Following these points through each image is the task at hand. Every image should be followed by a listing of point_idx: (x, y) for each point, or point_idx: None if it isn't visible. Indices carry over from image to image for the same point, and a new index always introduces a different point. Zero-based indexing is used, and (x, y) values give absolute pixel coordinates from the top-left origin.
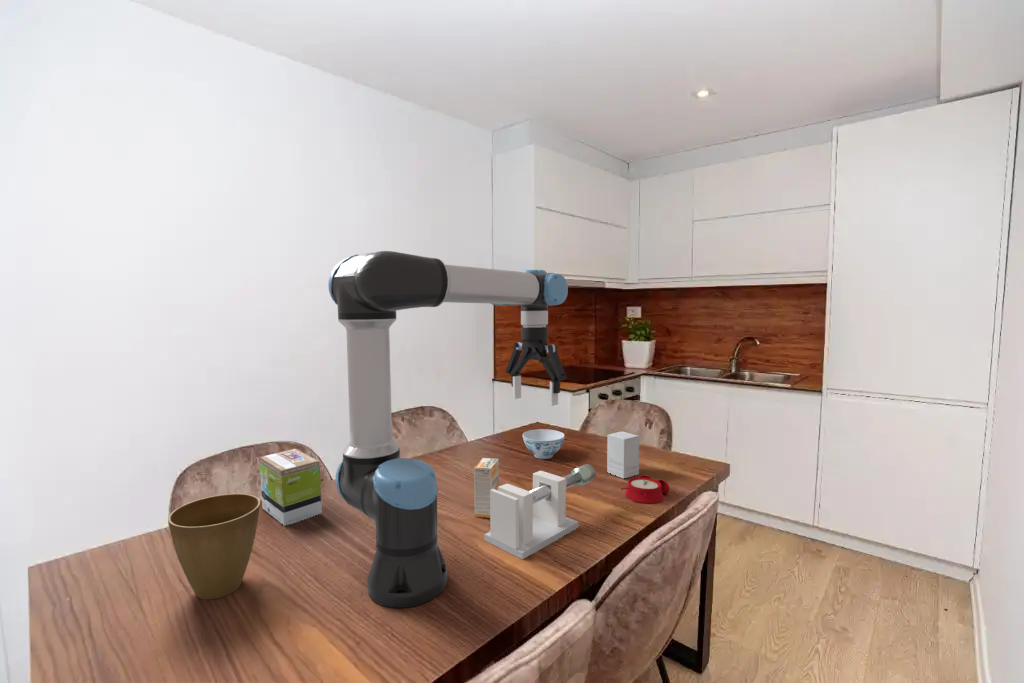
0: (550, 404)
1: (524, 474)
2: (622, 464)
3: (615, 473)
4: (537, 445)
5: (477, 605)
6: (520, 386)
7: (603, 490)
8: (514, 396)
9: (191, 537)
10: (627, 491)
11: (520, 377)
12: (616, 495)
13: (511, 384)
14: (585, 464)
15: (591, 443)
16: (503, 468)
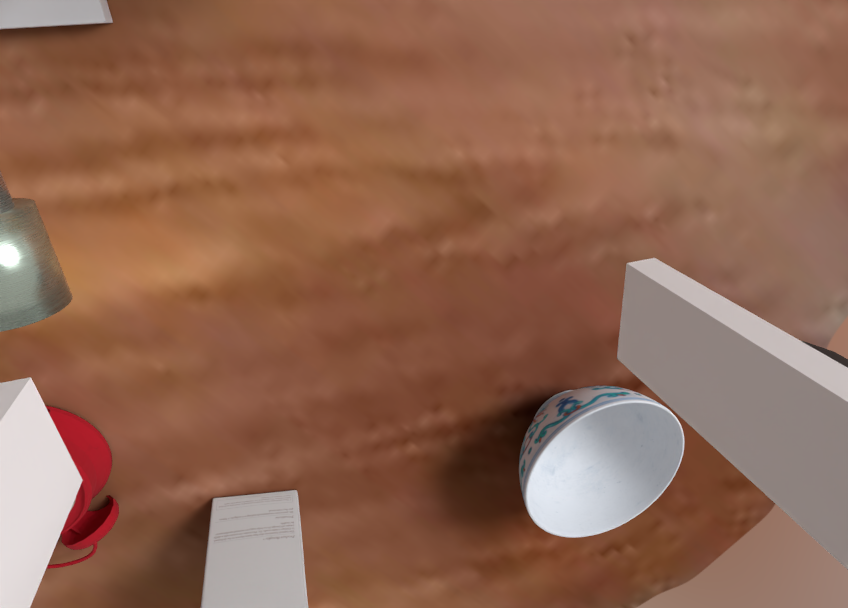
0: (10, 390)
1: (488, 255)
2: (215, 538)
3: (253, 499)
4: (570, 406)
5: None
6: (710, 433)
7: (168, 384)
8: (652, 275)
9: None
10: (58, 426)
11: (827, 538)
12: (98, 390)
13: (838, 354)
14: (12, 318)
15: (522, 588)
16: (590, 231)
